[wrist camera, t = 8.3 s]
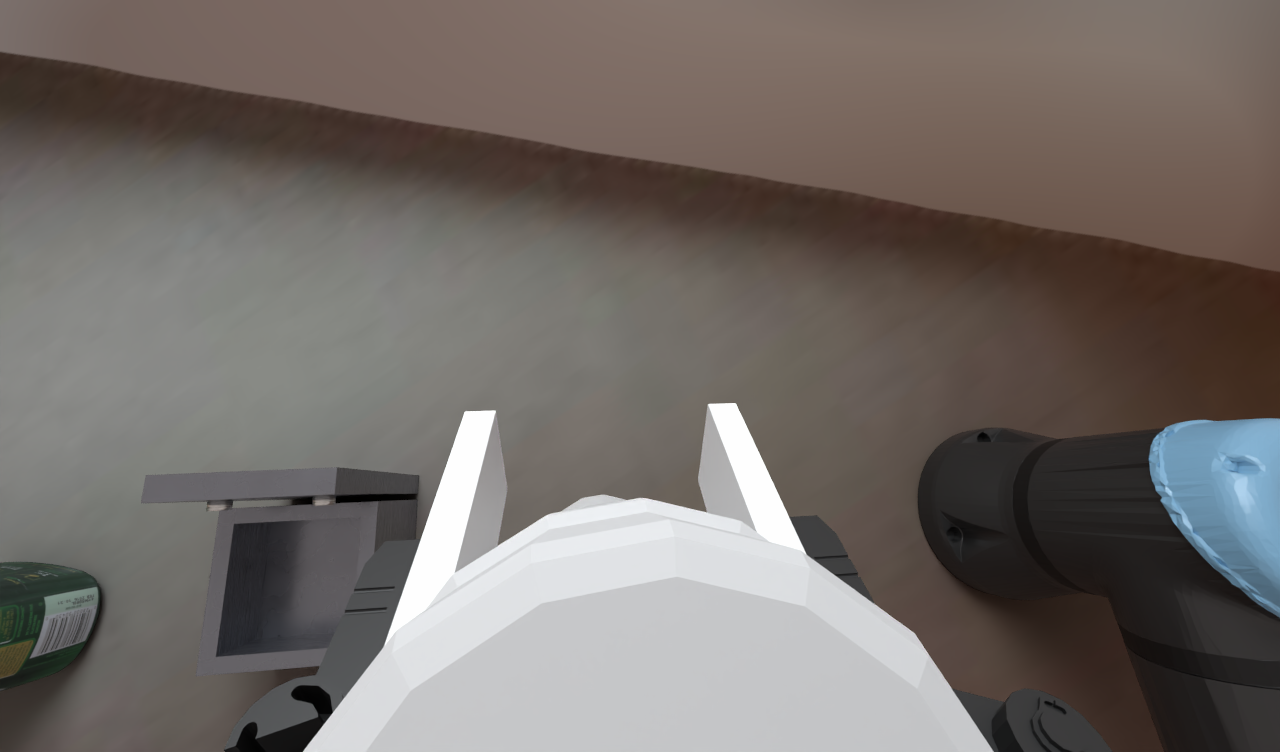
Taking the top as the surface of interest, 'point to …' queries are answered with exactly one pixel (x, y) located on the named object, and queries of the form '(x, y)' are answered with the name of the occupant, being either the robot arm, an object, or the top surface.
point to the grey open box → (285, 557)
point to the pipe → (649, 650)
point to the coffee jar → (43, 619)
